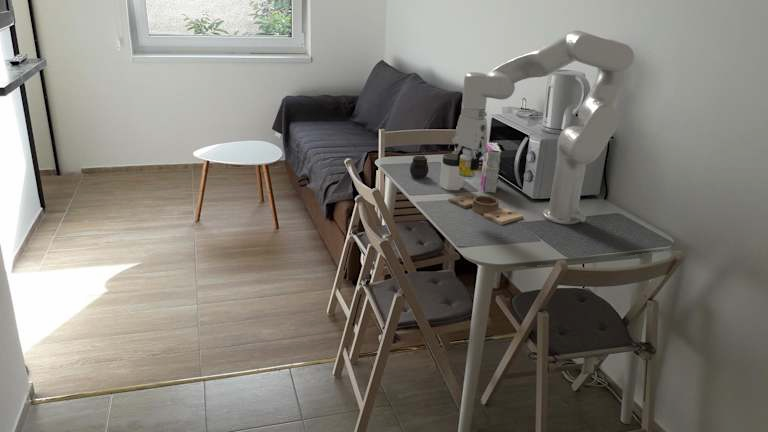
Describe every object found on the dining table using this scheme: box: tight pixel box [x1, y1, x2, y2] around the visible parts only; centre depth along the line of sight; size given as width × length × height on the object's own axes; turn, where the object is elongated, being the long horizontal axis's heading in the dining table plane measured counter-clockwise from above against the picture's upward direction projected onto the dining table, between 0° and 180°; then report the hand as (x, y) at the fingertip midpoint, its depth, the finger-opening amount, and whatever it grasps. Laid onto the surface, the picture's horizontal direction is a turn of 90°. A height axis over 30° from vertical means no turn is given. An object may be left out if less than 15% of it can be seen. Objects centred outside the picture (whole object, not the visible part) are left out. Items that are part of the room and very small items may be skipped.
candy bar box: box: [480, 141, 502, 194], centre depth 239 cm, size 11×5×16 cm, turn 179°
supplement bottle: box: [458, 147, 476, 180], centre depth 208 cm, size 5×5×10 cm
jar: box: [438, 153, 464, 191], centre depth 238 cm, size 9×8×12 cm
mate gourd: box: [409, 149, 429, 179], centre depth 248 cm, size 7×8×10 cm
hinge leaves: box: [448, 192, 524, 226], centre depth 220 cm, size 25×11×4 cm, turn 39°
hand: (467, 166), depth 209 cm, fingers closed on supplement bottle, 5 cm apart
